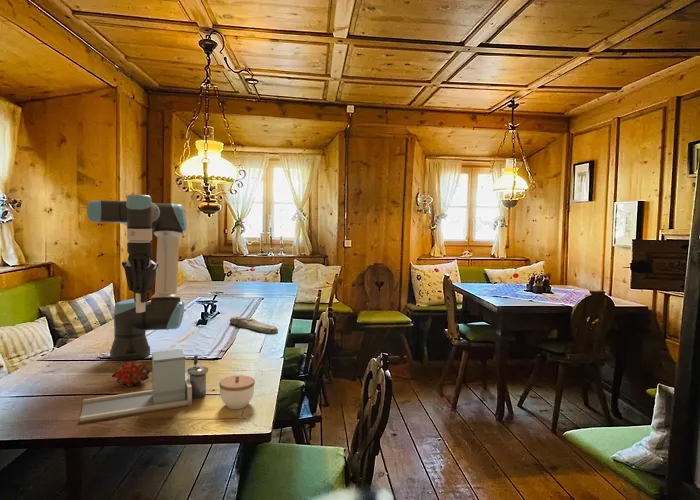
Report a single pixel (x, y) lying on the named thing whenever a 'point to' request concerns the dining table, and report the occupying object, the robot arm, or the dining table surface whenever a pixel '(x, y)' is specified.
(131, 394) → the bay
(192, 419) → the dining table surface
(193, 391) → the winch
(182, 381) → the grey tall block
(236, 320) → the elongated rock
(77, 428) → the dining table surface
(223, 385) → the lidded jar
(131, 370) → the dragon fruit
